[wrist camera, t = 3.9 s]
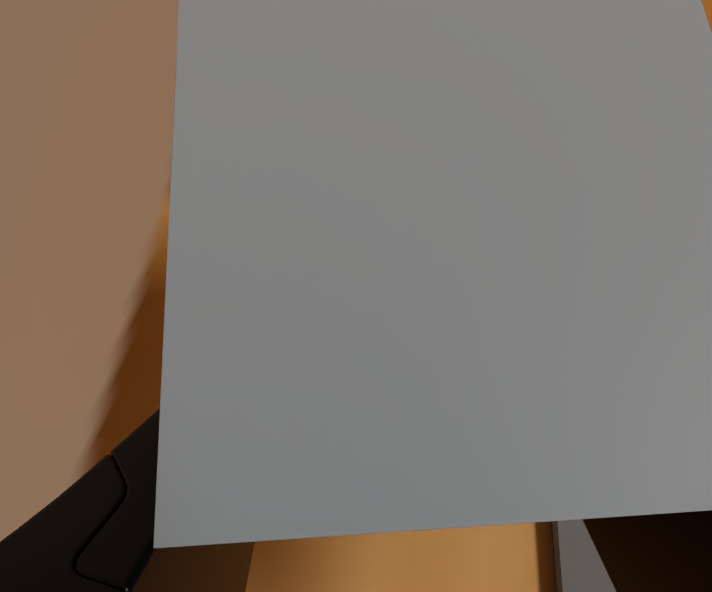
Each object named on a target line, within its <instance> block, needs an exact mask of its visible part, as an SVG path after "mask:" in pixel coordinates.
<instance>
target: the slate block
mask: <svg viewBox="0 0 712 592" xmlns="http://www.w3.org/2000/svg"><path fill="white" fill-rule="evenodd" d="M176 57H177V58H176V79H175V99H174V120H173V144H172V163H171V184H170V206H169V227H168V248H167V270H166V291H165V312H164V334H163V355H162V376H161V398H160V419H159V440H158V462H157V483H156V504H155V526H154V547H153V548H166V547H181V546H196V545H210V544H225V543H240V542H254V541H269V540H284V539H298V538H313V537H328V536H342V535H357V534H371V533H386V532H401V531H415V530H430V529H445V528H459V527H474V526H489V525H503V524H518V523H533V522H547V521H562V520H577V519H591V518H606V517H621V516H635V515H650V514H665V513H679V512H694V511H709V510H712V34H711V30H710V27H709V24H708V21H707V17H706V14H705V11H704V8H703V5H702V1H701V0H179V15H178V36H177V56H176Z"/></svg>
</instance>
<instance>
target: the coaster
mask: <svg viewBox="0 0 712 592" xmlns="http://www.w3.org/2000/svg"><path fill="white" fill-rule="evenodd" d="M552 531H553V544H554V558H555V571H556V585H557V592H616V590H615V588H614V586H613V584H612V582H611V580H610V578H609V575H608V573H607V571H606V569H605V567H604V565H603V563H602V560H601V558H600V556H599V554H598V552H597V550H596V548H595V546H594V543H593V541H592V539H591V537H590V535H589V533H588V531H587V529H586V526H585V524H584V522H583V520H582V519H577V520H562V521H552Z"/></svg>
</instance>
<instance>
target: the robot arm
mask: <svg viewBox="0 0 712 592" xmlns="http://www.w3.org/2000/svg"><path fill="white" fill-rule="evenodd" d="M159 419H160V409H158V410H157V411H156V412H155V413H154V414H153V415H152V416H151V417H149V418H148V419H147V420H146V421H145V422H144V423H143V424H141V425H140V426H139V427H138V428H137V429H136V430H135V431H134V432H132V433H131V434H130V435H129V436H128V437H127V438H126V439H125V440H123V441H122V442H121V443H120V444H119V445H118V446H117V447H116V448H114V449H113V450H112V451H111V455H106V456H105V457H104V458H103V459H102V460H101V461H99V462H98V463H97V464H96V465H95V466H94V467H93V468H92V469H90V470H89V471H88V472H87V473H86V474H85V475H83V476H82V477H81V478H80V479H79V480H78V481H76V482H75V483H74V484H73V485H72V486H71V487H69V488H68V489H67V490H66V491H65V492H63V493H62V494H61V495H60V496H59V497H58V498H56V499H55V500H54V501H52V502H51V503H50V504H49V505H47V506H46V507H45V508H44V509H42V510H41V511H40V512H38V513H37V514H36V515H35V516H33V517H32V518H31V519H29V521H27V522H26V523H24V524H23V525H22V526H20V527H19V528H18V529H17V530H15V531H14V532H13V533H11V534H10V535H9V536H7V537H6V538H5V539H3V540H2V541H1V542H0V592H245V590H246V584H247V579H248V573H249V568H250V562H251V557H252V551H253V545H254V542H240V543H225V544H210V545H196V546H181V547H166V548H153V547H154V526H155V504H156V483H157V462H158V440H159ZM582 520H583V522H584V524H585V526H586V529H587V531H588V533H589V535H590V537H591V539H592V541H593V543H594V546H595V548H596V550H597V552H598V554H599V556H600V558H601V560H602V563H603V565H604V567H605V569H606V571H607V573H608V575H609V578H610V580H611V582H612V584H613V586H614V588H615V590H616V592H712V510H709V511H694V512H679V513H665V514H650V515H635V516H621V517H606V518H591V519H582Z"/></svg>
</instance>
